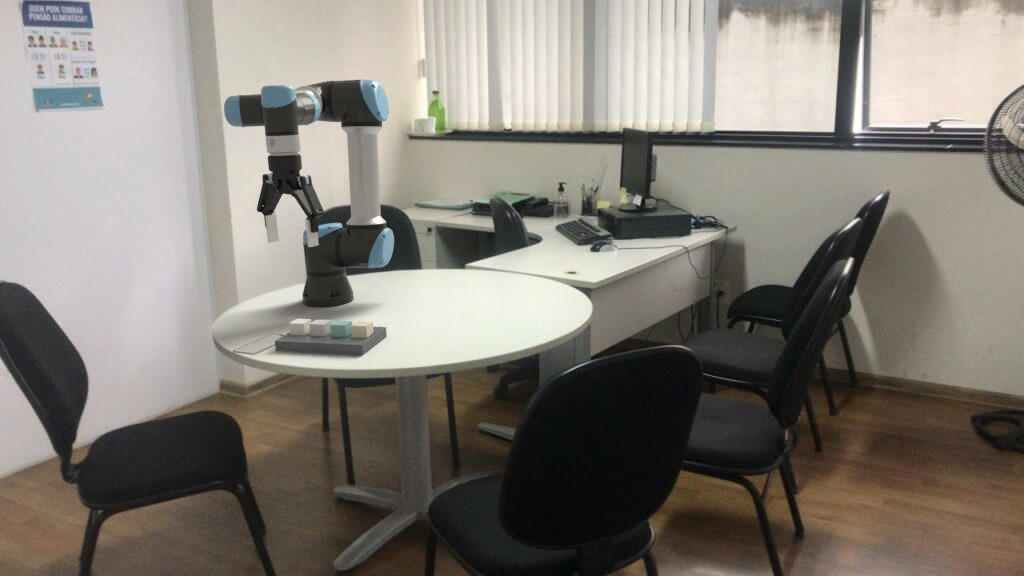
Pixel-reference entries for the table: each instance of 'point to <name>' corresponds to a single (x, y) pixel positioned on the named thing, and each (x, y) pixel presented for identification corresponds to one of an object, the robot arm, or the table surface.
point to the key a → (299, 327)
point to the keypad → (330, 343)
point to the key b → (320, 328)
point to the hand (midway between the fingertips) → (293, 244)
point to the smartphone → (259, 344)
